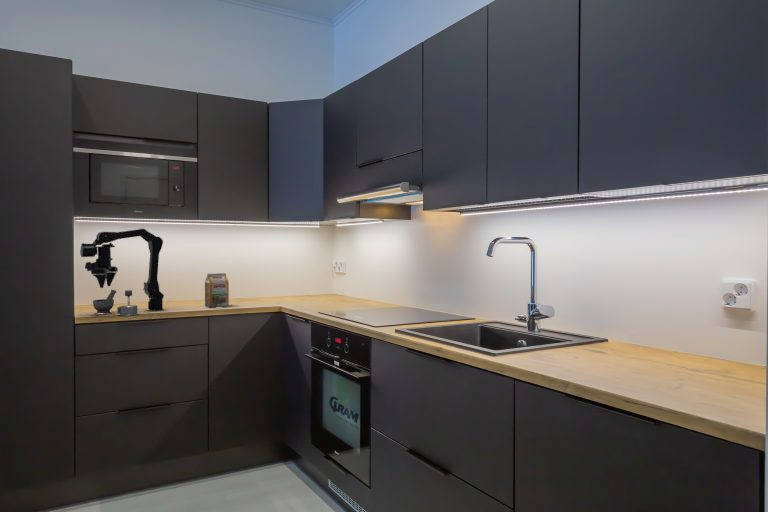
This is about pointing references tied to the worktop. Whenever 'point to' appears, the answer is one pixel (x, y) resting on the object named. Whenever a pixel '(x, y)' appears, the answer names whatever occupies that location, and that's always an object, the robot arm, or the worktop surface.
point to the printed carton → (216, 290)
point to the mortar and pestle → (104, 303)
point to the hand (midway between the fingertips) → (105, 287)
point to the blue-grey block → (127, 310)
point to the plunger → (128, 293)
